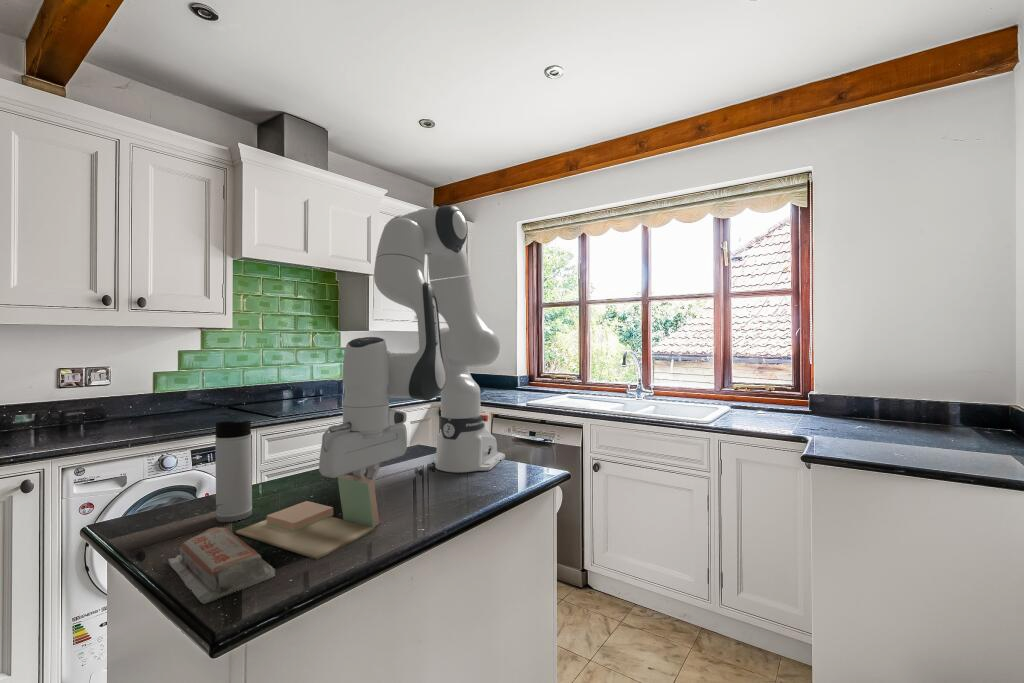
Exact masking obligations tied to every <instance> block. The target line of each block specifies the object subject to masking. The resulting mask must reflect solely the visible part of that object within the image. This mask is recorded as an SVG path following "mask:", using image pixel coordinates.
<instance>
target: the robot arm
mask: <svg viewBox="0 0 1024 683" xmlns="http://www.w3.org/2000/svg"><path fill="white" fill-rule="evenodd" d="M468 229H469V228H468V223H467V219H466V216H465V214H464V213H463V211H462V210H461V209H459V207H457V206H454V205H446V204H445V205H440V206H435V207H427V208H419V209H418V210H415V211H412V212H409V213H406V214H403V215H401V214H400V215H397V216H395V217H393V218H391V219H390V220H389V221H388V222H386V224H385V225H384V228H383V230H382V232H381V235H380V239H379V242H378V245H377V250H376V255H375V262H374V268H373V269H374V270H373V278H374V279H373V280H374V285H375V286H376V288H377V289H378V291H379V292H380V293H381V295H383V296H384V297H385V298H386V299H388V300H390V301H392V302H394V303H396V304H398V305H400V306H403V307H407V308H408V309H411V310H412V311H414V312H415V314H416V318H417V319H416V320H417V331H418V332H417V336H418V347H419V348H418V350H417V351H416V352H410V353H408V352H407V353H406V352H405V353H404V352H403V353H401V352H398V353H396V352H391V351H389V350H388V349H387V348H388V347H387V344H386V340H385V339H384V338H382V337H377V336H367V337H366V336H365V337H358V338H354V339H351V340H350V341H349V342H347V343H346V346H345V349H344V354H343V362H342V386H343V389H344V396H343V401H342V423H340V424H337V425H336V424H335V425H330V426H329V427H328V428H327V429H326V430H325V432H323V433H322V437H321V446H320V453H319V464H318V471H319V474H321V476H323V477H326V478H331V479H336V478H338V477H340V476H342V475H349V474H350V473H352V475H353V476H355V477H360V478H365V479H371V480H374V487H375V486H376V477H377V475H378V472H379V471H380V464H381V463H384V462H387V461H391V460H393V459H396V458H400V457H403V456H404V455H405V453H406V452H407V449H408V434H407V433H408V432H407V425H406V424H405V423H406V422H407V419H408V418H407V413H406V412H404V411H400V410H396V409H392V408H390V400H389V398H392V399H393V398H397V399H401V398H402V399H413V400H420V401H422V400H423V401H427V402H428V401H431V400H433V399H434V398H435V397H436V396H437V395H439V394H440V414H441V415H440V416H439V421H438V424H439V430H440V432H439V433H438V434H437V439H436V449H435V450H436V451H435V453H436V454H435V457H434V458H433V461H432V462H433V463H434V464H435V466H434V467H435V469H437V470H440V471H442V472H446V473H447V472H448V473H470V472H478V471H481V472H482V471H491V469H493V468H494V467H495V466H496V465H498V464H499V463H501V461H503V460H504V459H505V458H506V454H505V453H502V452H500V451H498V443H497V439H496V437H495V436H494V435H493V434H492V433H490V432H489V431H488V430H487V428H485V423H486V422H488V421H489V415H488V414H484V413H482V414H481V388H480V385H479V384H478V383H477V382H476V381H475V379H473V377H472V375H471V372H470V369H469V368H479V367H485V366H488V365H492V364H493V363H495V361H496V360H497V359H498V357H499V354H500V349H501V347H500V346H501V345H500V344H501V343H500V340H499V337H498V336H497V334H496V333H495V332H494V331H493V330H492V329H490V328H489V326H487V324H486V323H485V322H484V320H483V318H482V316H481V314H480V312H479V311H478V308H477V305H476V302H475V299H474V293H473V287H472V283H471V281H472V280H471V275H470V269H469V263H468V259H467V256H466V253H465V249H464V247H463V246H464V244H465V242H466V240H467V237H468ZM426 256H427V265H428V266H427V270H428V278H429V283H428V282H427V280H426V278H425V259H426ZM439 314H440V315H441V316H442V318H443V319H444V321H445V322H446V324H447V327H442V328H440V327H441V326H440V315H439ZM484 422H485V423H484ZM495 459H497V460H495ZM499 460H501V461H499ZM367 469H368V471H367ZM365 474H366V476H365Z"/></svg>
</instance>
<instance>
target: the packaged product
mask: <svg viewBox="0 0 1024 683" xmlns="http://www.w3.org/2000/svg"><path fill="white" fill-rule="evenodd" d="M179 553H180V554H177V555H176V556H175V558H173V557H172V558H167V559H168V565H170V567H171V568H172V569H173V570H174V571H175V572H176V573H177V574H178V576H179V578H180V579H181V581H182V582H183V583H184V585H185V586H186V588H188V589H189V590H190V591H191V590H192V591H191V592H192V593H193V595H194V596H195V597H196V599H197V600H198V601H199V602H200V603H201V604H202V603H203V604H202V605H205V604H208V603H211V602H214V601H216V600H219V599H221V598H220V597H222V598H224V597H223V596H225V595H227V596H229V595H228V594H230V595H232V594H231V593H233V592H235V593H237V592H236V591H238V592H240V591H239V590H241V589H243V590H245V589H244V588H246V587H248V586H251V585H254V584H256V585H258V584H257V583H259V582H262V581H264V580H267V579H269V578H272V577H274V576H275V577H276V568H273V565H270V564H269V563H268V562H267V561H265V560H264V559H263V558H262V555H261V554H260V553H258V551H256V549H254V548H252V547H251V546H250V545H248V544H247V543H246V542H244V541H243V539H241V538H239V537H238V536H237V535H235V534H234V533H233V532H232V531H231V530H229V528H227V527H217V526H215V527H212V528H209V529H206V530H205V531H203V532H201V533H199V534H197V535H194V537H191V538H189V539H187V540H185V541H184V542H182V544H180V547H179ZM272 579H273V578H272ZM267 581H268V580H267ZM264 582H265V581H264ZM262 583H263V582H262ZM259 584H260V583H259ZM254 586H255V585H254ZM251 587H252V586H251ZM248 588H249V587H248ZM246 589H247V588H246ZM241 591H242V590H241ZM233 594H234V593H233ZM225 597H226V596H225ZM218 598H219V599H218Z"/></svg>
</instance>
